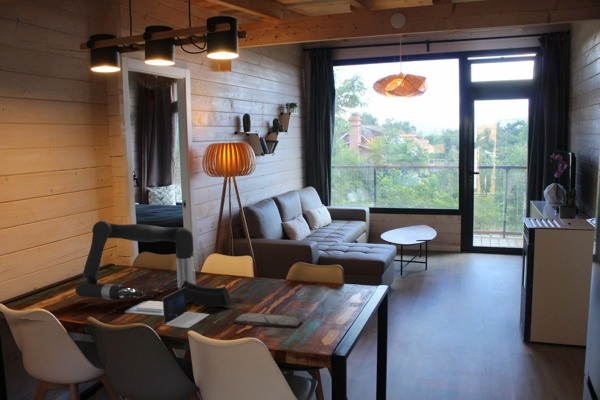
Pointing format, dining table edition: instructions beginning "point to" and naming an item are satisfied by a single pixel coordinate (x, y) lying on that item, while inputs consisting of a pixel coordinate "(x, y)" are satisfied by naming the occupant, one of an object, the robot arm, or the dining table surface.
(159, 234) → the robot arm
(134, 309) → the mat
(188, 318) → the laptop
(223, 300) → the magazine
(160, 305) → the tile
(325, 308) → the dining table surface
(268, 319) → the stone slab
